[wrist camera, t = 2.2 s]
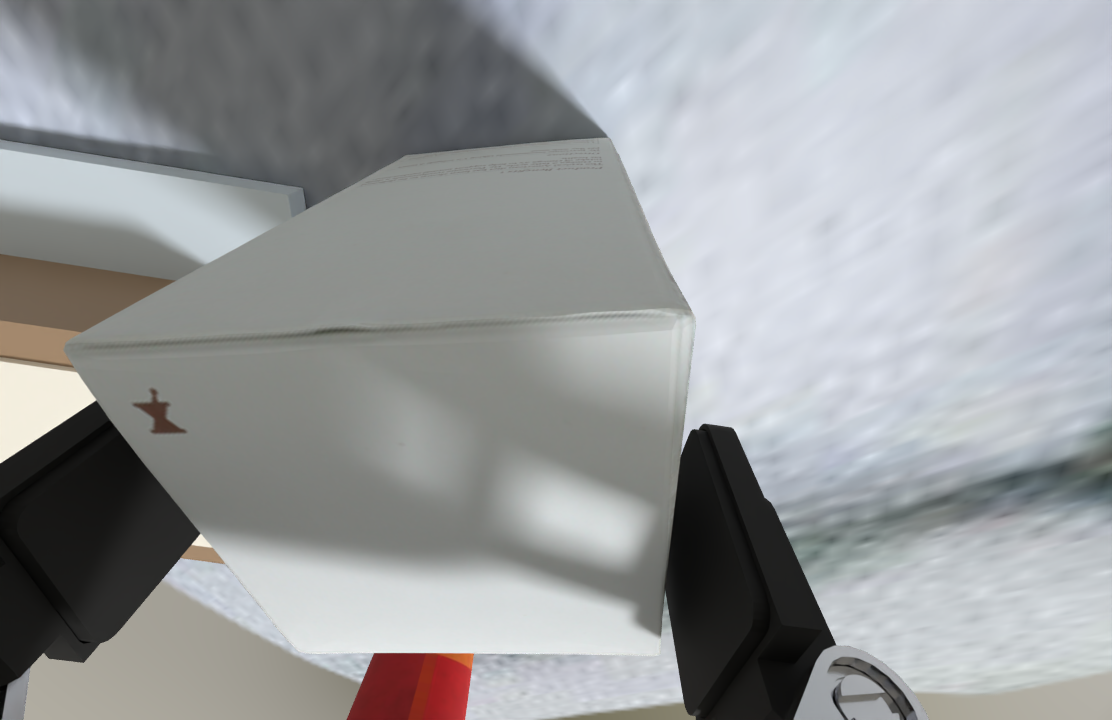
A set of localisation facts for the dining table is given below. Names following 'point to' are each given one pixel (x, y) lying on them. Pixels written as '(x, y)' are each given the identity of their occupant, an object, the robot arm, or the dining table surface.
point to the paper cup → (414, 687)
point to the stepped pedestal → (101, 263)
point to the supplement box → (426, 407)
